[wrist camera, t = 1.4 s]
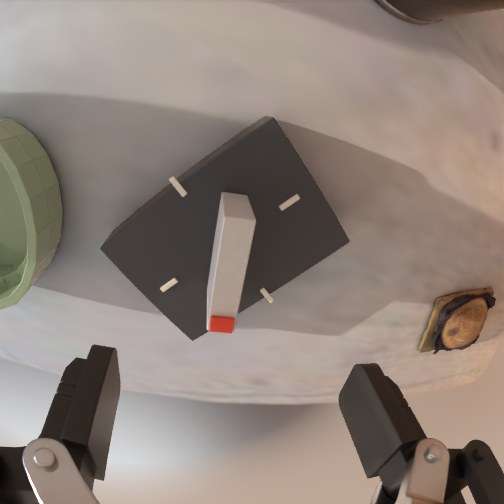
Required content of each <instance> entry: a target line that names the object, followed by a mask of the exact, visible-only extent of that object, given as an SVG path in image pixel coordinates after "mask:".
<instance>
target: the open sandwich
mask: <svg viewBox="0 0 504 504" xmlns="http://www.w3.org/2000/svg"><path fill="white" fill-rule="evenodd" d="M493 294H494V291H493V289H492V288H489V289H487V288H485V289H484V290H483V289H482V290H480V289H477V290H475V291H472V292H471V291H470V292H469V290H468V292H467V291H465V292H461V293H456V294H453V295H450V296H446V297H445V296H444V297H440V298H437V300H436V301H435V306H434V309H433V311H432V314H431V317H430V320H429V322H428V326H427V328H426V330H425V332H424V334H423V337H422V340H421V343H420V346H419V348H418V351H419V352H421V353H422V352H428V351H432V350H435V352H434V353H433V354H436V353H437V352H438V351H439V350H446V351H451V350H453V349H460V350H462V349H465V348H467V347H469V346H470V345H471V344H475V342H476V341H477V339H478V338H479V334H480V332H481V330H482V328H483V325H484V323H485V320H486V317H487V312H488V310H489V308H492V307H493V306H494V305H495V300H496V299H495V297H493Z"/></svg>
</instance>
